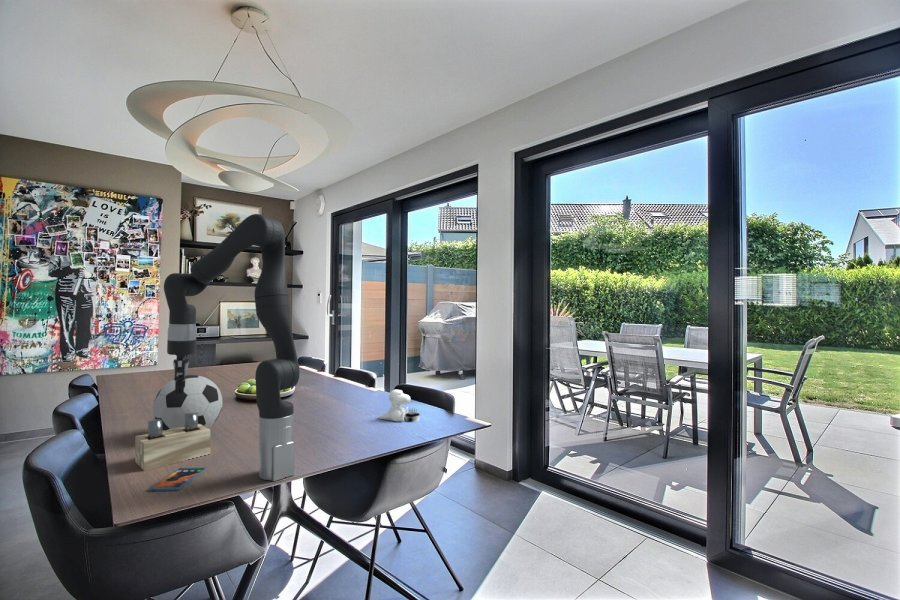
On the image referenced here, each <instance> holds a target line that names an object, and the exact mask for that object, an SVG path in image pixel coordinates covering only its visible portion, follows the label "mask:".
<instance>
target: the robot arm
mask: <svg viewBox="0 0 900 600" xmlns="http://www.w3.org/2000/svg"><path fill="white" fill-rule="evenodd" d="M285 234H286V233H285V229H284V226H283V225H282V223H281V222H280V221H279V220H277V219H275V218H272V217H270V216H267V215H263V214H259V213H253V214H250V215H248V216H246V217H245V218H244V219H243V220H242V221H241V222H240V223H239V224H238V225H237V226H236V227H235V228H234V230H232V231H231V232H230V233H229V234H228V235H227V236H226V237H225V238H224V239H223V240H222V241H221V242H220V243H219V244H218V245H217V246H216V247H214V248H213V249H211V251H209V252H208V253H207V254H205V255H203V256H202V257H200V258H199V259H198V260H197V261H194V262H193V264H192V265H190V266H191V267H190V273H180V272H179V273H178V272H174V273H170V274H169V275H167V277H165V280H164V282H163V293H164V295H165V299H166V303H167V307H168V313H169V314H168V316H169V318H168V328H167V344H166V352H167V355H170V356H176V359H175V358H174V360H172V361H173V362H172V366H173V375H174V378H173V380H174V381H175V394H183V393H184V387H185V377H186V375H187V374H188V370H189V364H190V363H189V361H190V358H188V355H193V354H195V353H196V351H197V349H196V348H197V325H196V323H197V322H196V321H197V309H196V307H195V306H194V305H193V304H190V303H188V302H187V298H186V297H195V296H197V295H199V294H201V293H202V292H203V291H204V290H205V289H206V288H207V287H208V286H209V284H210V283H211V282H212V281H213V280H215V279H216V278H218V277H220V276H221V275H222V274H223V273H226V271H228V270H229V268H230V267H231V266H232V264H233V263H234V261H235V258H236V257H237V256H238V255H239V254H240V253H241V252H243V251H244V250H246V249H248V248H250V247H253V246H254V247H259V248H260V250H261V259H262V263H261V265H262V268H261V272H260V274H259V277H258V279H257V281H256V286H255V288H254V304H255V313H256V317H257V318H258V321H259V322H260V324H261V325H262V327H263V328H264V329H265V331H266V333H267V334H268V335H269V337H270V338H271V340H272V342H273V346H274V350H275V355H276V356H275V358H273V359H267V360H266V359H265V360H263V361H260V362H259V364H258V365H257V367H256V369H255V375H254V376H255V384H254V385H255V394H256V396H255V397H256V406H257V409H258V416H259V417H258V423H259V425H258V438H259V439H258V462H259V463H258V464H259V465H258V467H259V469H258V471H259V473H258V474H259V475H258V476H259V478H260V479H262V480H264V481H272V482H276V481H279V480H282V479H286V478H289V477H293V476H295V441H294V440H295V439H294V432H295V431H294V418H295V417H294V412H295V411H294V410H295V409H294V408H295V407H294V403H292V402H291V401H288V400H283V399H282V398H281V392H280V391H284V390H288V389H291V388H294V387H295V386H296V385H298V383H299V380H300V375H301V374H300V371H301V370H300V366H299V365H300V364H299V360H298V355H297V350H296V345H295V340H294V335H293V326H292V321H291V320H292V319H291V309H290V298H289V296H290V295H289V289H288V281H287V280H288V279H287V271H286V251H285V250H286V235H285ZM285 477H286V478H285Z"/></svg>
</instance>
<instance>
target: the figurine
mask: <svg viewBox="0 0 900 600" xmlns="http://www.w3.org/2000/svg"><path fill="white" fill-rule="evenodd" d="M388 400H389V402H390V407H389V409H388V411H387V412H386V413H384V414H381V415H378V416H377V419H380V420H381V419H382V420H386V421H387V420H388V421H393V422H399V423H400V422H402V423H403V422H410V423H413V422H414V423H415V422H416V423H417V422H419V421H420V416H421V414H420V413H419V412H416V409H415V408H413V407H412V408H410V409H409V407H408V406H406V407H405V408H404V407H403V406H404V405H407V404H409V403H410V402H411V401H412V400H411V396H410V395H409V394H406V393H404V392H403V390H402V389H393V390H392V391H390V392H389V394H388Z"/></svg>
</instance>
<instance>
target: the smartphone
mask: <svg viewBox="0 0 900 600" xmlns="http://www.w3.org/2000/svg"><path fill="white" fill-rule="evenodd" d="M205 469H206V470H207V469H208V468H207V467H180V468H177V469H175V470H174V471H173V472H171V473H169V474H168V475H166V476H165V477H163V478H161V479H160V480H159V481H157V482H156V483H154V484H153V485H151V486H150V487H148V488H147V491H148V492H167V491H168V492H170V491H171V492H172V491H173V492H174V491H176V492H177V491H180V490H181V489H183V488H184V487H185V486H187V485H188V484H189V483H191V482H192V481H193V480H194V479H196V478H197V477H199V474H200V473H201V474H202V473H203V471H204V470H205ZM206 470H205V471H206ZM205 471H204V472H205ZM201 474H200V475H201ZM195 477H196V478H195Z"/></svg>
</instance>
